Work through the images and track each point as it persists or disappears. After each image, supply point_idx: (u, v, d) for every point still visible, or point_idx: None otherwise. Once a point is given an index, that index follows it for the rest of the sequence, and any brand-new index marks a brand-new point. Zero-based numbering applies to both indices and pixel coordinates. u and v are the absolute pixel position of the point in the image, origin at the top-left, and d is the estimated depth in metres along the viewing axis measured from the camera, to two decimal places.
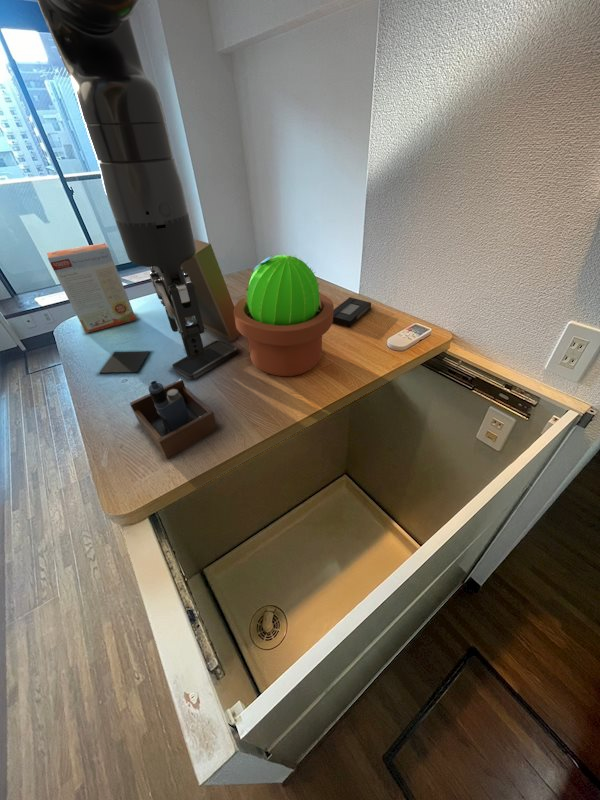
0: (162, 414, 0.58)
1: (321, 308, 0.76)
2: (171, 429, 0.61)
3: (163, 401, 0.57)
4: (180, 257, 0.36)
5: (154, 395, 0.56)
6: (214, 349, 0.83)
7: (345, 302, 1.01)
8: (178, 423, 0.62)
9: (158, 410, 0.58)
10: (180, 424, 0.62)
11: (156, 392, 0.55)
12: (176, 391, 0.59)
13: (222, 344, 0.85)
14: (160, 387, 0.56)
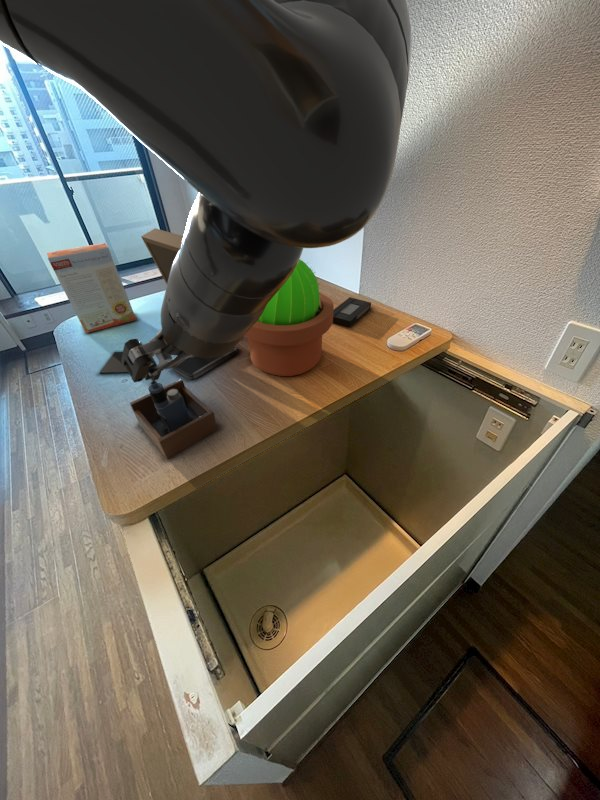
0: (162, 414, 0.58)
1: (321, 308, 0.76)
2: (171, 429, 0.61)
3: (163, 401, 0.57)
4: (175, 344, 0.29)
5: (154, 395, 0.56)
6: None
7: (345, 302, 1.01)
8: (178, 423, 0.62)
9: (158, 410, 0.58)
10: (180, 424, 0.62)
11: (156, 392, 0.55)
12: (176, 391, 0.59)
13: None
14: (160, 387, 0.56)
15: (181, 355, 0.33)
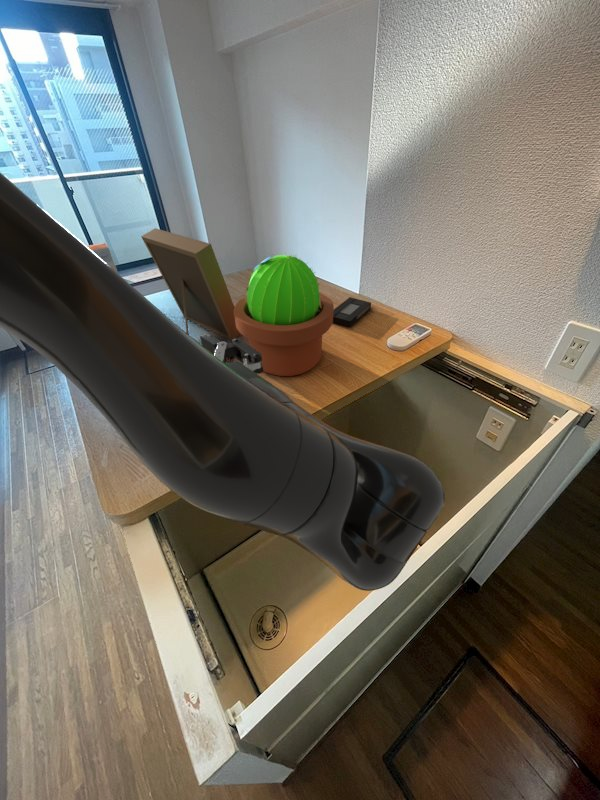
0: None
1: (321, 308, 0.76)
2: None
3: None
4: None
5: None
6: None
7: (345, 302, 1.01)
8: None
9: None
10: None
11: None
12: None
13: None
14: None
15: None
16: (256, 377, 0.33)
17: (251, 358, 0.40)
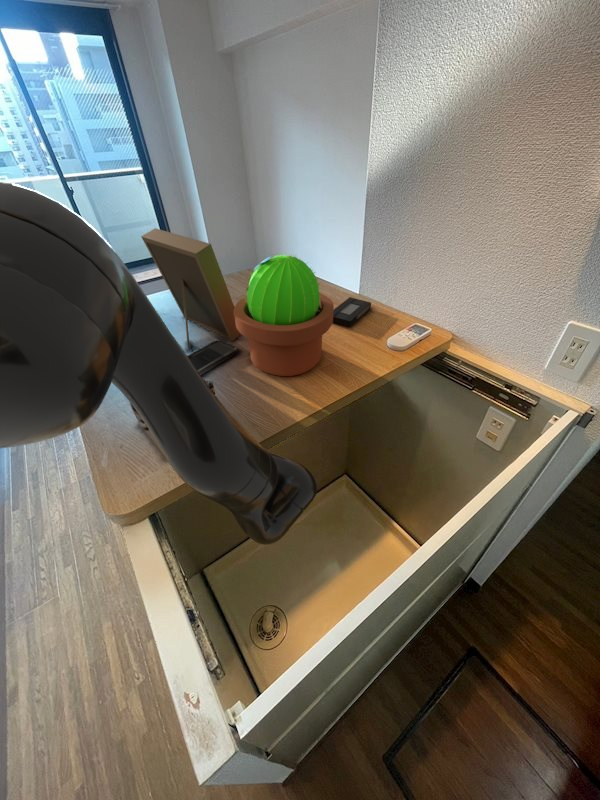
0: None
1: (321, 308, 0.76)
2: None
3: None
4: None
5: None
6: (214, 349, 0.83)
7: (345, 302, 1.01)
8: None
9: None
10: None
11: None
12: None
13: (222, 344, 0.85)
14: None
15: None
16: None
17: None
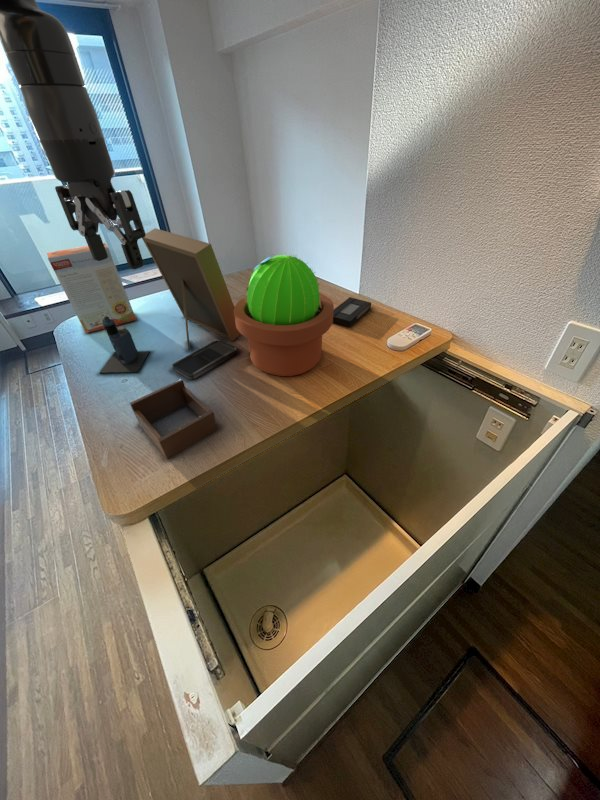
0: (116, 344, 0.76)
1: (321, 308, 0.76)
2: (125, 358, 0.79)
3: (116, 333, 0.75)
4: (109, 172, 0.44)
5: (109, 327, 0.73)
6: (214, 349, 0.83)
7: (345, 302, 1.01)
8: (130, 354, 0.80)
9: (113, 341, 0.75)
10: (131, 355, 0.80)
11: (110, 324, 0.73)
12: (124, 327, 0.77)
13: (222, 344, 0.85)
14: (112, 321, 0.73)
15: None
16: None
17: (64, 193, 0.48)
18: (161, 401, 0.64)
